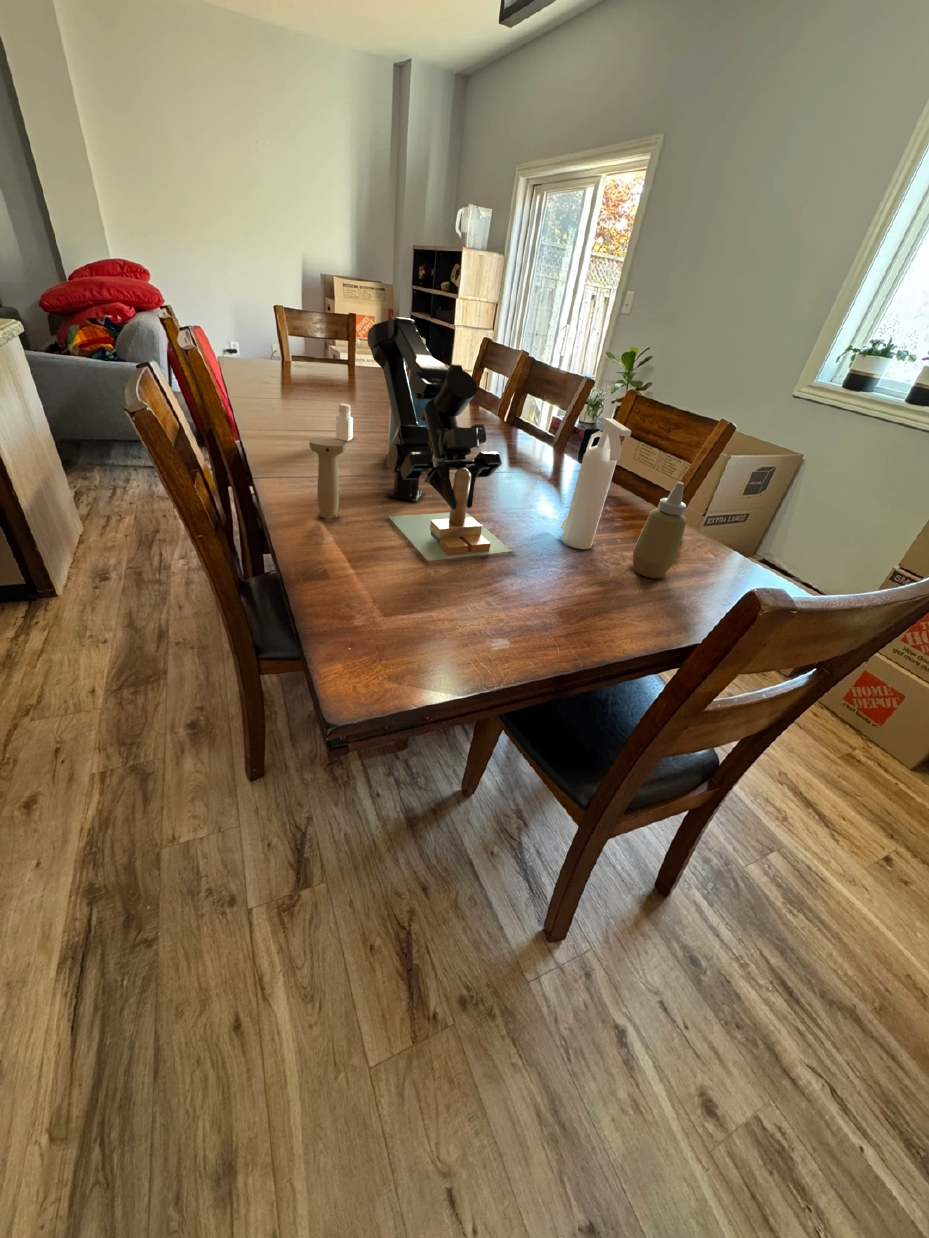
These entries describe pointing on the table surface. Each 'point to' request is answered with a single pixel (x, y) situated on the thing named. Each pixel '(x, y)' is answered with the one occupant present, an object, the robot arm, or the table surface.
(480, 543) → the block
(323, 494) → the handle
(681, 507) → the squeeze bottle
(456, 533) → the rubber stamp
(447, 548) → the block
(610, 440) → the white spray bottle
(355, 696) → the table surface
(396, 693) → the table surface
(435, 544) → the mat
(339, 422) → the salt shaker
